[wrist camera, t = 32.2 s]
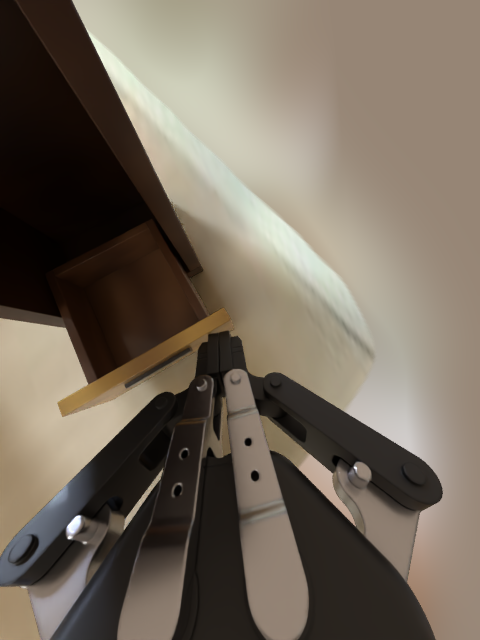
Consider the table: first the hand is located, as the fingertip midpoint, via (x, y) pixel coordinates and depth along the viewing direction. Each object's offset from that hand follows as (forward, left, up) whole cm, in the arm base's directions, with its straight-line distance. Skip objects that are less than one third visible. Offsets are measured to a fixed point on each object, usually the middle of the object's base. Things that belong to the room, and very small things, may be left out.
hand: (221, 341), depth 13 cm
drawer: (-5, +6, -3) cm, 8 cm away
